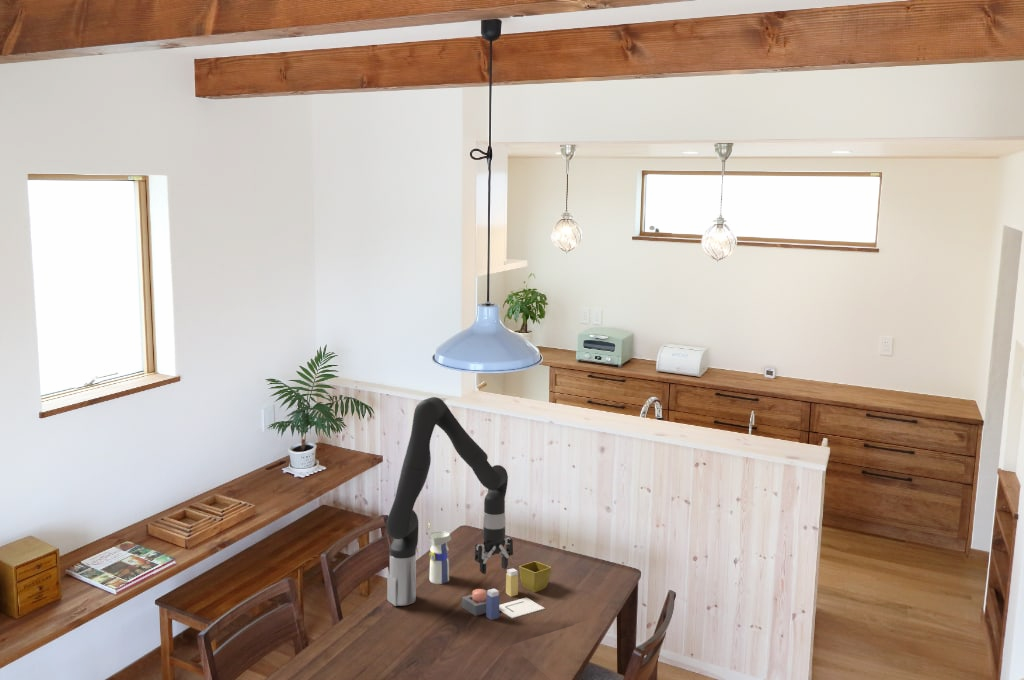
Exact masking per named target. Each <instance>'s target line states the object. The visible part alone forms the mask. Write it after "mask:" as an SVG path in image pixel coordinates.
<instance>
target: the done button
mask: <svg viewBox="0 0 1024 680" xmlns="http://www.w3.org/2000/svg"><path fill="white" fill-rule="evenodd" d="M471 595H472V600H473V601H474V602H476V603H480V602H484V601H486V599H487V590H486V589H483V588H475V589H473V590H472V594H471Z"/></svg>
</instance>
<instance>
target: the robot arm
mask: <svg viewBox="0 0 1024 680" xmlns="http://www.w3.org/2000/svg"><path fill="white" fill-rule="evenodd" d="M436 426H437V427H439V428H440V429H441V430H443V432H444V433H445V434H446V436H448V438H449V440H450V442H451V444H452V446H453V447H454V450H455V451H456V453H457V455H459V456H460V458H461V459H462V460H463V461H464V462H465V463H466V464H467V466H469V467H470V468H471V470H472V472H473V474H474V475H475V476H476V478H477V479H478V481H479V482H480V484H481V485H482V486H483V487H484V488H485V489H487V493H486V495H485V496H484V499H483V500H484V501H483V503H484V504H483V506H484V507H483V508H484V509H483V518H482V519H483V521H482V523H483V524H482V526H483V527H482V528H483V529H482V531H483V532H482V534H483V535H482V537H483V543H481V544H480V543H476V544H475V548H474V549H475V550H474V561H475V562H476V563H478V564H479V572H480V573H481V574H483V575H486V574H487V561H488V560H489V559H490V558H491V556H494V555H499V554H500V555H501V568H502V569H503V570H507V568H508V566H509V557H510V556H513V555H514V545H513V544H514V542H513V539H512V538H511V537H509V536H506V510H505V509H506V501H505V500H506V499H505V498H506V495H507V490H508V489H507V488H508V481H509V476H508V472H507V470H506V468H505V467H504V466H503V465H500V464H495V465H493V466H492V465H491V464H490V462H489V461H488V460H489V459H488V454H487V453H486V452H485V451H484V450H483V449H482V447H480V446H479V445H478V443H477V442H476V441H475V440H474V439H473V438H472V437H471V436H470V434H468V432H467V431H466V430H465V429H464V428H463V426H462V425H461V424H460V422H459V421H458V420H457V418H456V417H455V416H454V414H453V412H452V411H451V410H450V408H449V406H448V405H447V404H446V402H445V401H444V400H442V399H441V398H439V397H435V396H431V397H428V398H426V399H423V400H421V401H419V402H418V404H416V407H415V408H414V412H413V419H412V425H411V433H410V436H409V441H408V444H407V448H406V451H405V456H404V459H403V462H402V467H401V471H400V476H399V480H398V483H397V489H396V492H395V497H394V501H393V503H392V506H391V509H390V512H389V514H388V517H387V520H386V525H385V526H386V531H387V533H388V535H389V536H390V537H391V538H392V541H391V544H390V546H389V574H387V575H386V576H387V578H386V579H387V581H386V582H387V583H386V584H387V587H386V588H387V589H386V590H387V592H386V594H387V601H388V603H390V604H391V605H393V606H395V607H397V606H400V607H403V606H409V605H411V604H414V603H415V602H416V600H417V598H416V596H417V595H416V594H417V593H416V592H417V591H416V588H417V587H416V586H417V584H416V583H417V581H416V580H417V579H416V577H417V576H416V574H417V570H416V569H417V565H416V564H417V562H416V561H417V558H416V557H417V554H416V553H417V551H416V550H417V547H418V544H419V543H418V542H419V518H418V515H417V513H416V511H415V510H414V507H415V503H416V501H417V500H418V497H419V495H420V494H421V492H422V489H423V488H424V485H425V483H426V482H427V478H428V474H429V471H430V466H431V460H432V457H431V447H430V446H431V440H432V435H433V432H434V429H435V427H436ZM504 547H505V548H504Z"/></svg>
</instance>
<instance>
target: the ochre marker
mask: <svg viewBox="0 0 1024 680" xmlns="http://www.w3.org/2000/svg"><path fill="white" fill-rule="evenodd" d="M505 594H507V596H509V597H510V598H512V597H515V596H517V595H519V573H518V570H517V569H515V568H513V567H512V568H509V569H506V573H505Z"/></svg>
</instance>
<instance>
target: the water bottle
mask: <svg viewBox="0 0 1024 680" xmlns="http://www.w3.org/2000/svg"><path fill="white" fill-rule="evenodd" d="M430 522H431V521H430V519H429V520H428V521H427V528H428V530H430V527H431V523H430ZM428 538H429V543H430V542H431V547H430V549H429V551H430V552H429V553H428V558H429V559H430V560H429V578H428V579H429V581H430V583H432V584H434V585H435V584H437V585H440V584H441V585H442V584H446V583H448V582H449V581H450V561H449V560H450V559H449V557H448V556H449V555H448V552H449V550H450V548H449V547H448V543H449V542H450V541H452V536H451V534H450V532H448V531H444V530H438V531H433V532H430V534H429V535H428Z"/></svg>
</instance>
